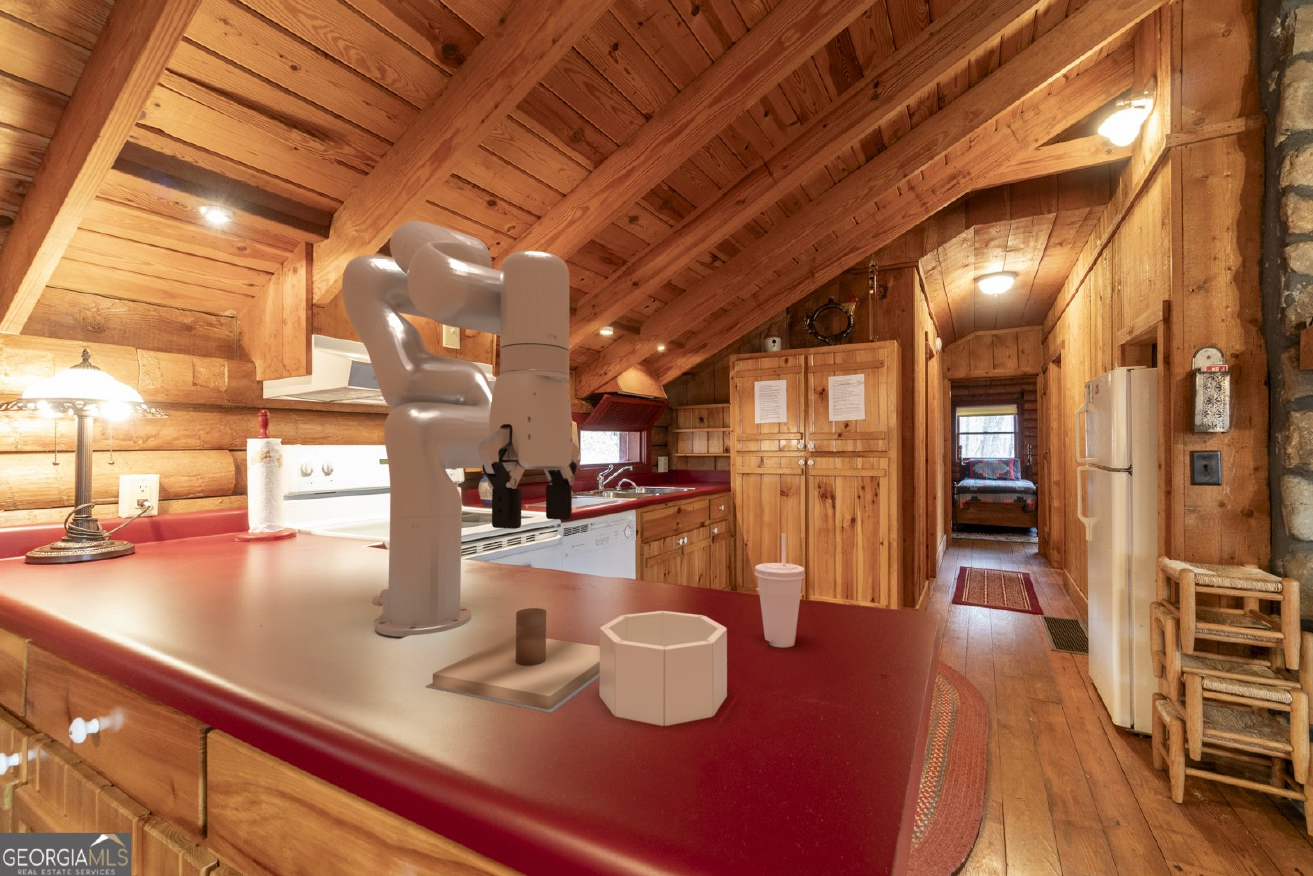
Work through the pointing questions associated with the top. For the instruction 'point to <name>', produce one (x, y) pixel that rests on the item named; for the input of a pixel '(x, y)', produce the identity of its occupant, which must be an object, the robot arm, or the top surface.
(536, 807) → the top surface
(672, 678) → the bowl
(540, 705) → the lid
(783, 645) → the smoothie
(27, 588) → the top surface
